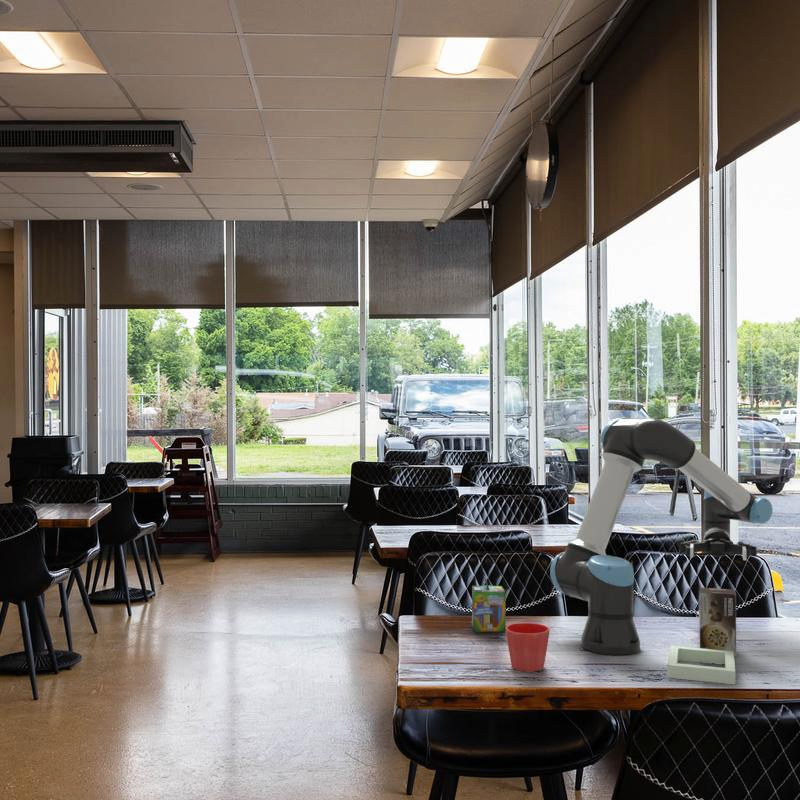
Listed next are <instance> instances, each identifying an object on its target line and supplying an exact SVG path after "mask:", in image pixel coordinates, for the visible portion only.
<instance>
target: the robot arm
mask: <svg viewBox="0 0 800 800" xmlns="http://www.w3.org/2000/svg"><path fill="white" fill-rule="evenodd" d="M600 443H601V448H602V449H601V450H603V452H602V454H601V457H602V458H603V460H604V464H603V467H602V469H601V471H600V475H599V477H598V480H597V482H596V484H595V488H594V490H593V493H592V495H591V497H590V501H589V503H588V506H587V508H586V511H585V514H584V516H583V518H582V520H581V524H580V526H579V530H578V532H577V533H576V538H575V539H574V540H572V541H569V542H568V543H567V545H566V548H565V550H564V551H563V552H560V553H558V554H556V556H555V557H554V558H553V560H552V562H551V564H550V570H549V571H550V572H549V573H550V574H549V575H550V579H551V581H552V584H553V586H554V587H555V589H556V590H557V591H559V592H560V593H562V594H565V596H568V597H571V598H576V599H579V600H582V601H585V602H588V603H587V604H588V605H587V606H588V609H587V611H588V612H587V614H588V616H587V620H586V623H585V626H584V628H583V631H582V635H581V642H580V643H581V644H580V645H581V647H582V649H584V650H586V651H589V652H591V653H596V654H601V655H602V654H603V655H612V656H613V655H615V656H625V655H632V654H637V653H638V652H640V651H641V640H640V637H639V634H638V630H637V627H636V624H635V621H634V600H635V575H634V566H633V564H632V563H631V561H629V560H627V559H624V558H622V557H618V556H612V555H609V554H608V555H607V553H606V549H607V547H608V543H609V542H610V537H611V536H612V533H613V530H614V527H615V525H616V522H617V519H618V518H619V514H620V511H621V509H622V506H623V503H624V500H625V499H626V495H627V493H628V489H629V487H630V484H631V483H632V479H633V476H634V475H635V473H637V472H640V471H641V470H642V468H643V466H644V463H645V460H650V461H655V462H660V463H663V464H664V465H666V466H667V467H669V468H670V469H672V470H679V471H680V472H681V473H682V474H684V475H685V476H687V477H688V479H690V480H691V481H693V482H694V483H695V484H697V486H699V487H701V488H702V489H703V490H704V494H703V538H702V541H700V542H699V540H698V539H696V538H693V539H691V540H689V541H688V540H687V541H683V542H680V543H679V552H680V553H686V554H685V555H686V556H687V557H688V556H689V558H692V559H693V558H694V553H698V552H699V553H701V552H703V553H707V554H708V555H710V556H711V557H715V558H721V557H725V556H726V555H729V554H730V555H731V554H732V555H733V554H735V555H740V556H742V560H743V561H747V557H751V556H752V557H757V556H758V555H757V553H758V552H757V550H758V549H757V546H755V545H751V544H748V543H745V542H744V541H737V542H736V543H734V542H733V541H731V520H733V521H740V522H745V523H751V524H760V525H761V524H766V523H767V522H769V521H770V520H771V517H772V515H773V505H772V503H771V501H770V500H769V499H768V498H765V497H762V496H755V495H754V494H753V493H751V492H750V491H749V490H748V489H746V488H745V487H744V486H742V485H741V484H740V483H739V482H738V481H737V480H735V479H734V478H733V477H732V476H731V475H729V474H728V473H727V472H726V471H724V470H723V469H722V468H721V467H719V466H718V464H716V463H714V461H712V460H711V459H710V458H708V457H707V456H706V455H705V454H704V453H702V452H701V451H700V450H699V449H697V445H696V443H695V441H694V440H692V439H691V438H690V437H688V435H686V434H685V433H683V432H682V431H681V430H679V429H678V428H676V427H675V426H673V425H672V424H670V423H668V422H666V421H665V420H662V419H659V418H655V417H653V418H652V417H632V416H624V417H618V418H615V419H612V420H610V421H609V422H608V423H607V424H606V425H605V426H604V428H603V430H602V431H601V435H600Z"/></svg>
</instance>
